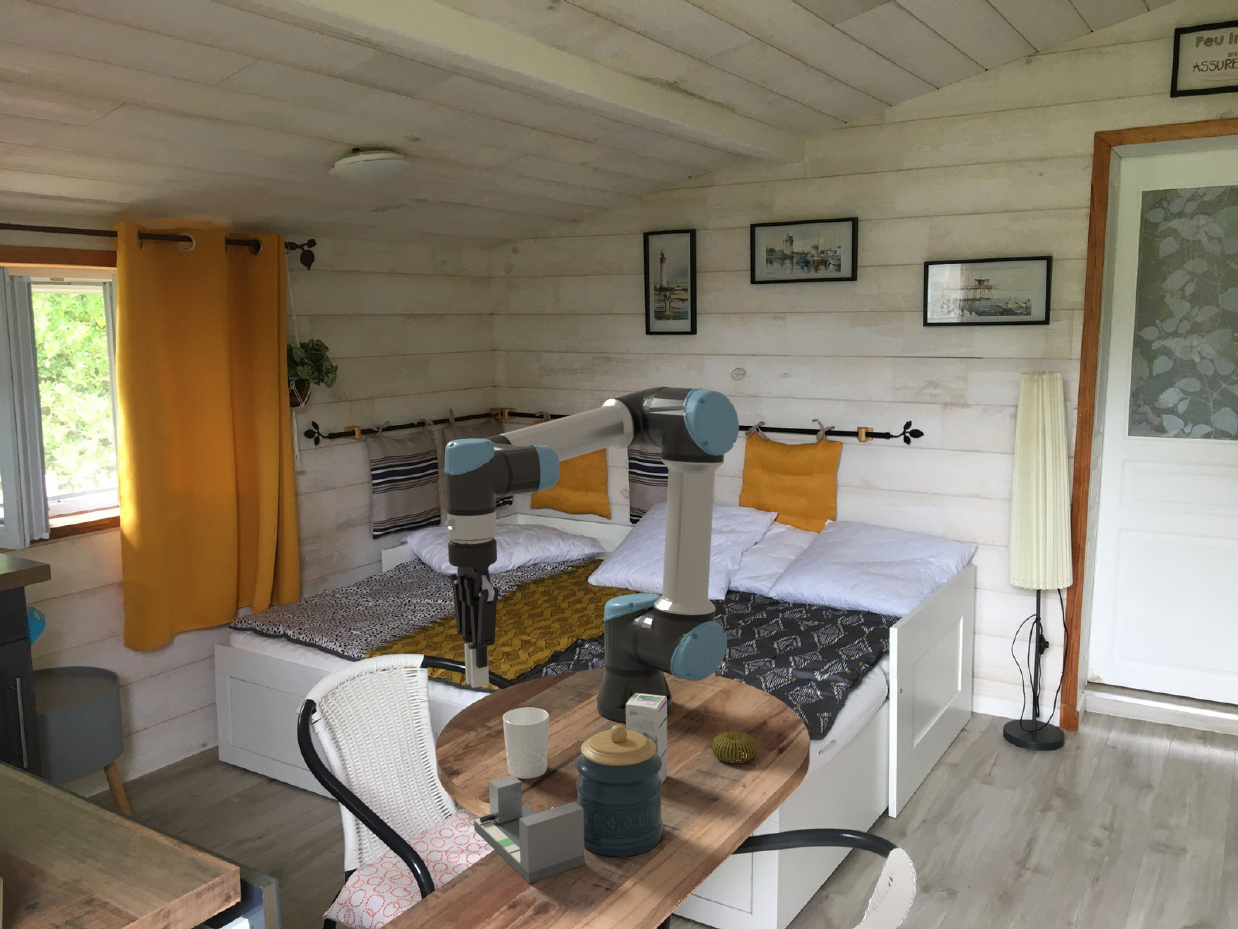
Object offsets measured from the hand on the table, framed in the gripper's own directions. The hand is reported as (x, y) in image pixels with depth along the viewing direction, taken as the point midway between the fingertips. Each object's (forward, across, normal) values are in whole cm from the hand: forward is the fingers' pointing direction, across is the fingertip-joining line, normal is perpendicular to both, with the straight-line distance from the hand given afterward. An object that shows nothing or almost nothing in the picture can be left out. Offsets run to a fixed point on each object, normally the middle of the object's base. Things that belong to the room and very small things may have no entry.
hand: (477, 683), depth 162 cm
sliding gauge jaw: (+19, +9, -1) cm, 21 cm away
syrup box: (+21, +8, +27) cm, 35 cm away
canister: (+21, +21, +13) cm, 32 cm away
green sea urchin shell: (+21, +9, +45) cm, 50 cm away
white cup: (+21, -7, +12) cm, 25 cm away
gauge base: (+20, +16, 0) cm, 26 cm away
